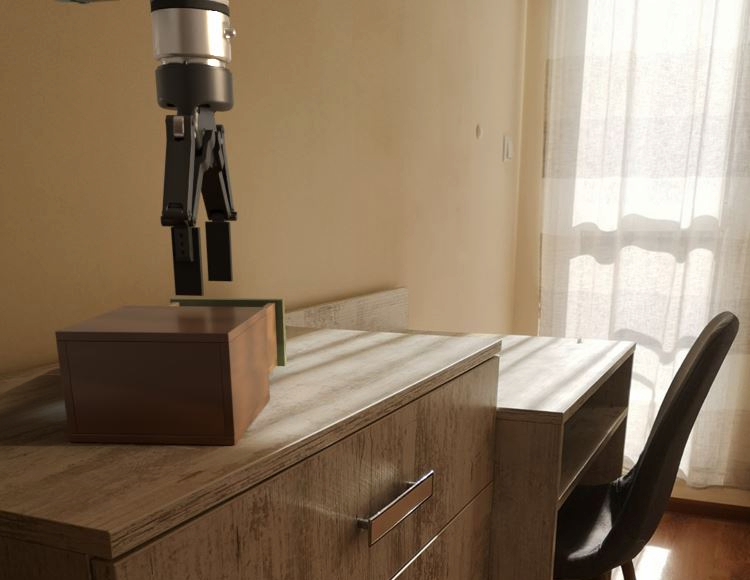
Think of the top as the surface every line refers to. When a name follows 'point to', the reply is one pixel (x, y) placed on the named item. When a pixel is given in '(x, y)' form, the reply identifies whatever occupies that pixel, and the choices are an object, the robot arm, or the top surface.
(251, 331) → the cabinet
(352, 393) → the top surface
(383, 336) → the top surface
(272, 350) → the drawer
